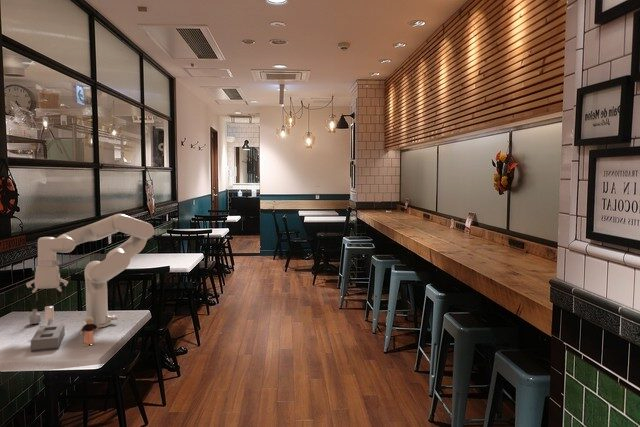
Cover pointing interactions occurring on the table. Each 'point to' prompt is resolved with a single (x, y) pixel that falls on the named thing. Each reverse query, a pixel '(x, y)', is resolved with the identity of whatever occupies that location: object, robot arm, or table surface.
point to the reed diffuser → (34, 313)
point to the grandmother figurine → (88, 331)
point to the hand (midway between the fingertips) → (47, 300)
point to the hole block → (48, 338)
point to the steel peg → (49, 315)
